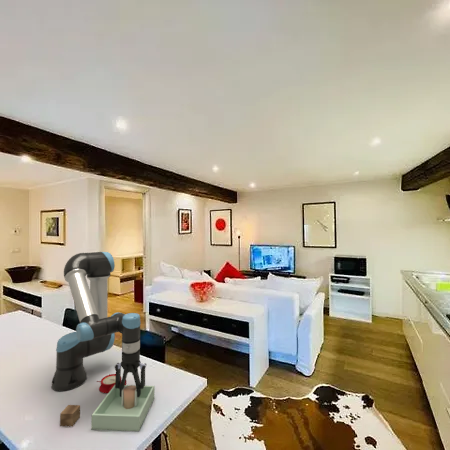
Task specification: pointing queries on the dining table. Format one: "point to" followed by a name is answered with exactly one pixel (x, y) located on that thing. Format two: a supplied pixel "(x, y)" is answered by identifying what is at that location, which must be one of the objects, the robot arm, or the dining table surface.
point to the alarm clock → (108, 383)
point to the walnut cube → (70, 415)
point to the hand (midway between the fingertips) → (130, 403)
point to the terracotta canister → (129, 396)
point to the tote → (122, 411)
